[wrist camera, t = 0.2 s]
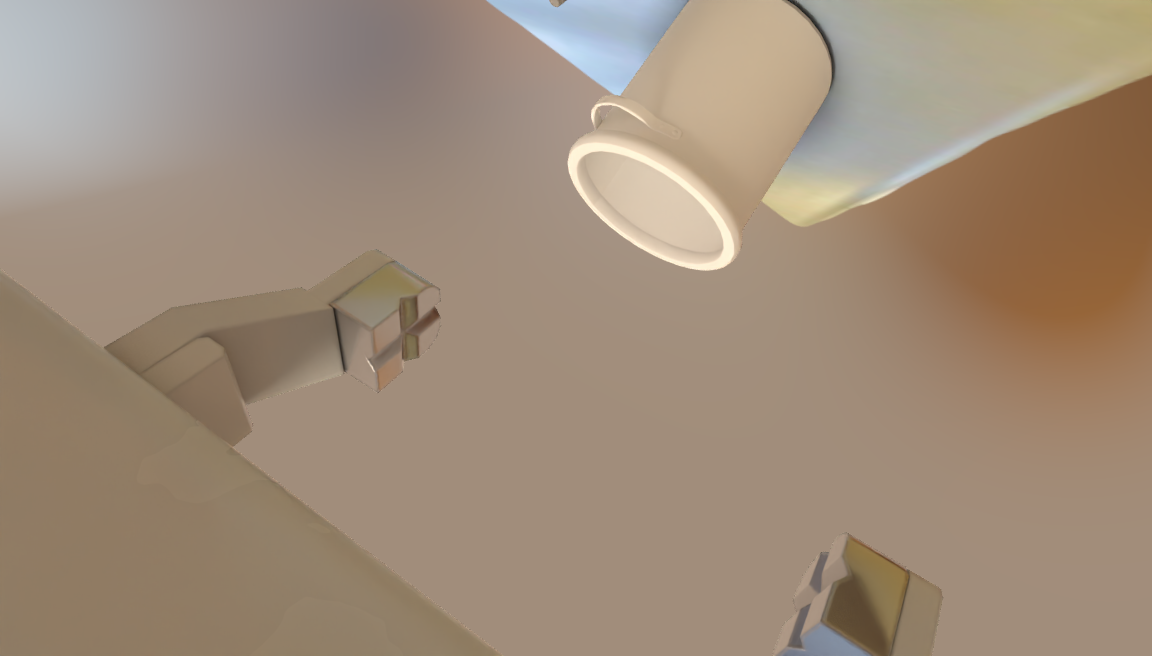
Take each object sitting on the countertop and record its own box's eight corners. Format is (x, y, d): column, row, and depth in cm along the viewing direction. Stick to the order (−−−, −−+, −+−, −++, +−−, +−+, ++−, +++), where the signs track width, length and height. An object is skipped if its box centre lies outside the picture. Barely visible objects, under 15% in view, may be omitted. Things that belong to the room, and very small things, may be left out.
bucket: (873, 128, 78) (773, 294, 72) (726, 130, 95) (637, 265, 89) (798, -67, 62) (663, 127, 57) (638, -22, 79) (523, 131, 73)
